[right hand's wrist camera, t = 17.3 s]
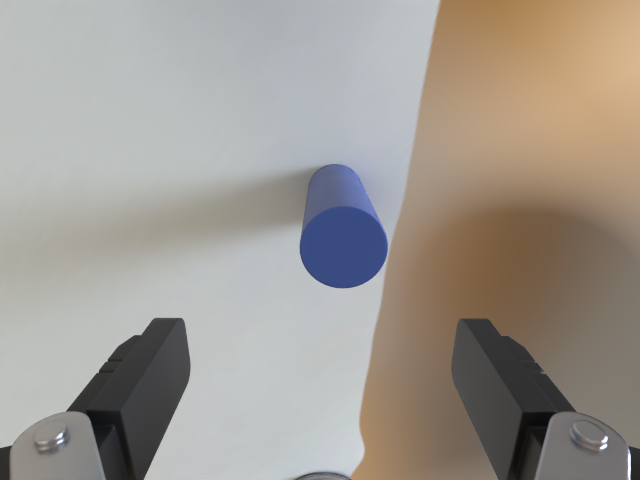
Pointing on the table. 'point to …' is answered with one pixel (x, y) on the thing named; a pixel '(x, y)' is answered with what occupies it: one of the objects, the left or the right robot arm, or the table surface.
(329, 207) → the canister
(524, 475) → the right robot arm
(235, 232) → the table surface
